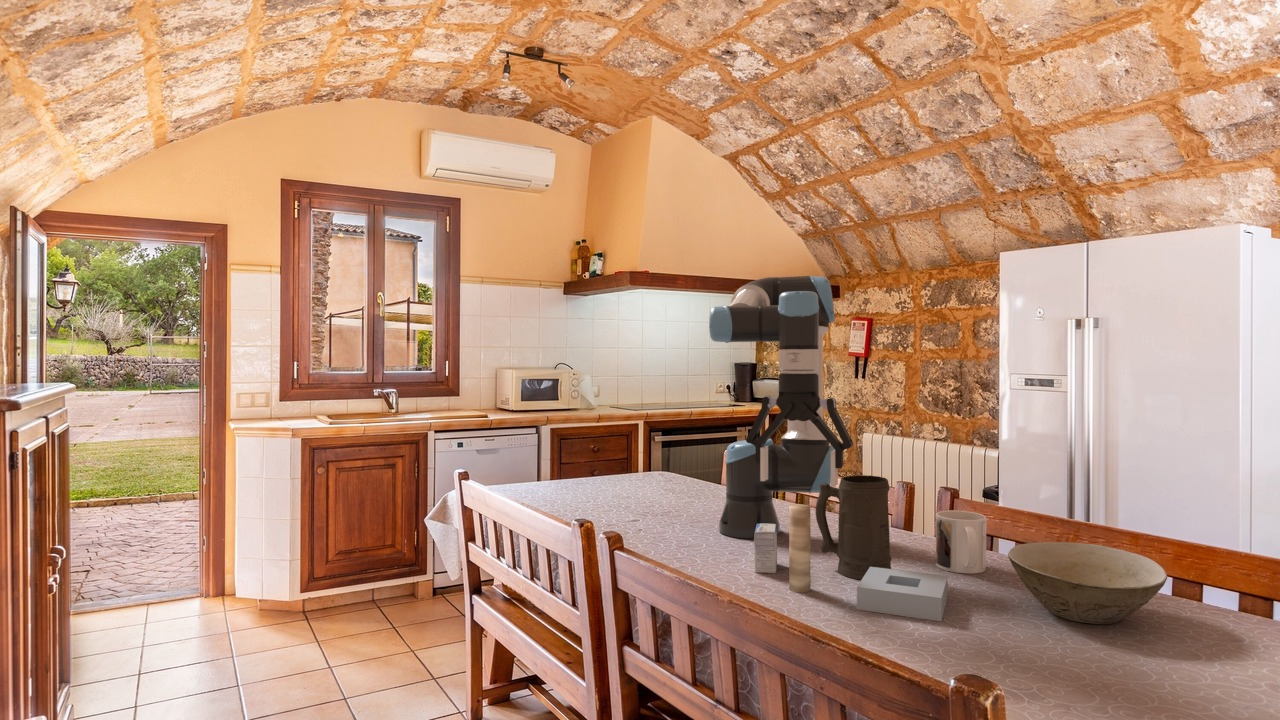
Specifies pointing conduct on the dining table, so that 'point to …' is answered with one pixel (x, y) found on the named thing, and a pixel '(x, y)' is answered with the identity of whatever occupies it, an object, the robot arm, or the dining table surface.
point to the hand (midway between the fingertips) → (798, 482)
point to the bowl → (1087, 579)
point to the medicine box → (765, 548)
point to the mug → (961, 541)
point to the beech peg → (799, 548)
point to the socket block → (903, 593)
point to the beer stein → (857, 524)
